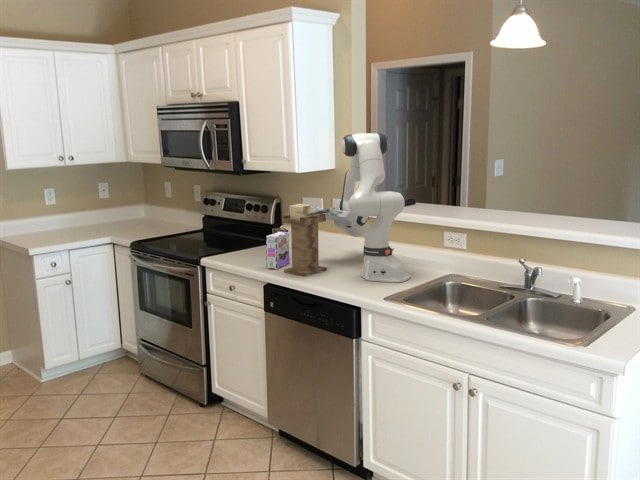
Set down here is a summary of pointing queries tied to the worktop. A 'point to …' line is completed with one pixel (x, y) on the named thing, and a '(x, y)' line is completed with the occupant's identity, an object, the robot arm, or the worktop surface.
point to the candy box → (277, 250)
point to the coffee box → (279, 230)
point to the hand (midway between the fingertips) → (326, 209)
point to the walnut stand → (304, 245)
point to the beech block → (304, 211)
